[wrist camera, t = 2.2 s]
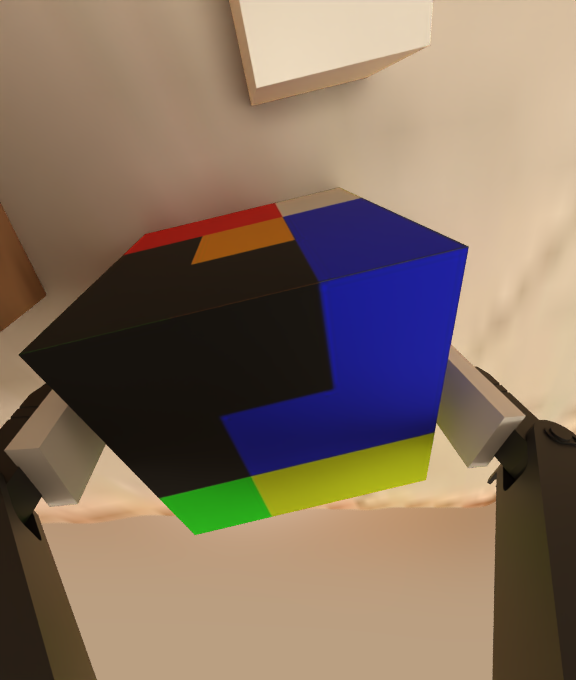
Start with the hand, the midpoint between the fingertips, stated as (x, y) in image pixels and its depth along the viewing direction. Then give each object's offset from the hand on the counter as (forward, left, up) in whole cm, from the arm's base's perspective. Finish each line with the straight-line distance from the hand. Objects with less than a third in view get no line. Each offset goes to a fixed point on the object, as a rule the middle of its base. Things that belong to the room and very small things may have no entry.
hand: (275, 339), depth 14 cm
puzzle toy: (0, 0, -4) cm, 4 cm away
